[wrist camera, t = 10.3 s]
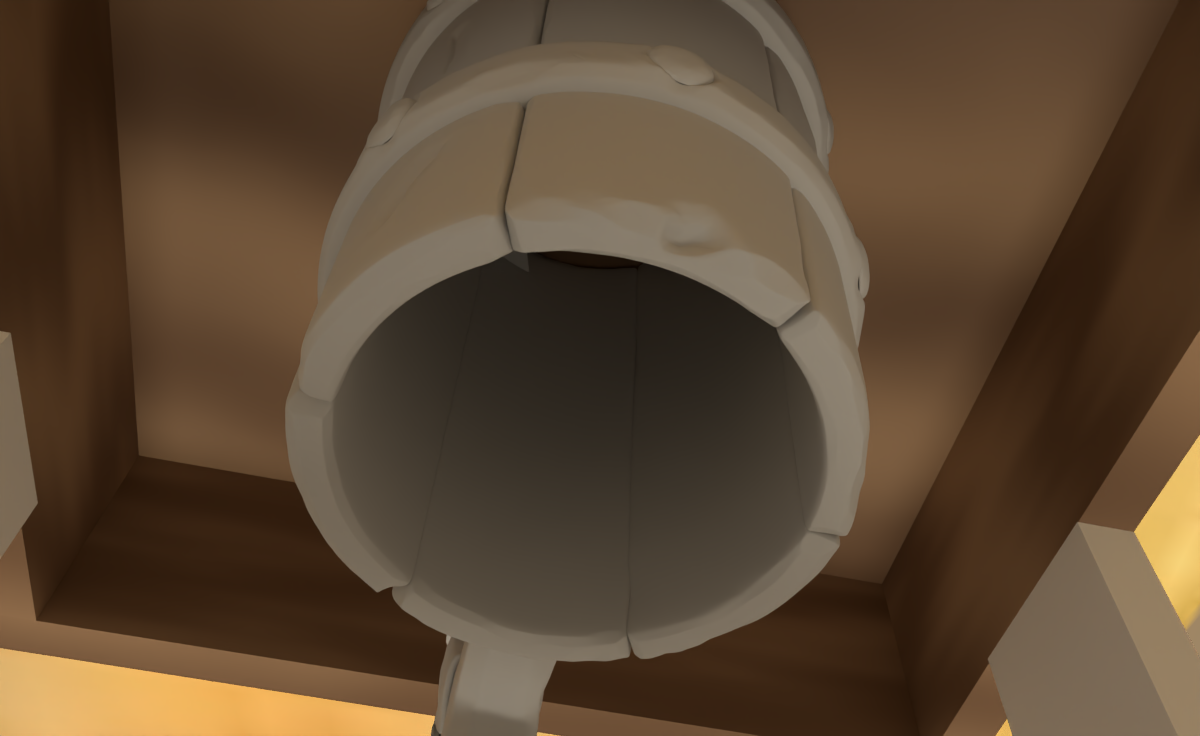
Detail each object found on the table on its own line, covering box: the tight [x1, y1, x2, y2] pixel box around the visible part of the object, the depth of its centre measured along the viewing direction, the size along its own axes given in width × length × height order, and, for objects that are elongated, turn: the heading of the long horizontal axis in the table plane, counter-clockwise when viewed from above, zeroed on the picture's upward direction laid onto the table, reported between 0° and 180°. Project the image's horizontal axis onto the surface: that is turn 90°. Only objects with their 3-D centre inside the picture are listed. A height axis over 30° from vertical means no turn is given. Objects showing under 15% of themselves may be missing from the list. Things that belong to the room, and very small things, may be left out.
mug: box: [285, 0, 870, 736], centre depth 16 cm, size 8×12×12 cm, turn 166°
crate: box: [0, 0, 1200, 736], centre depth 19 cm, size 18×20×6 cm
